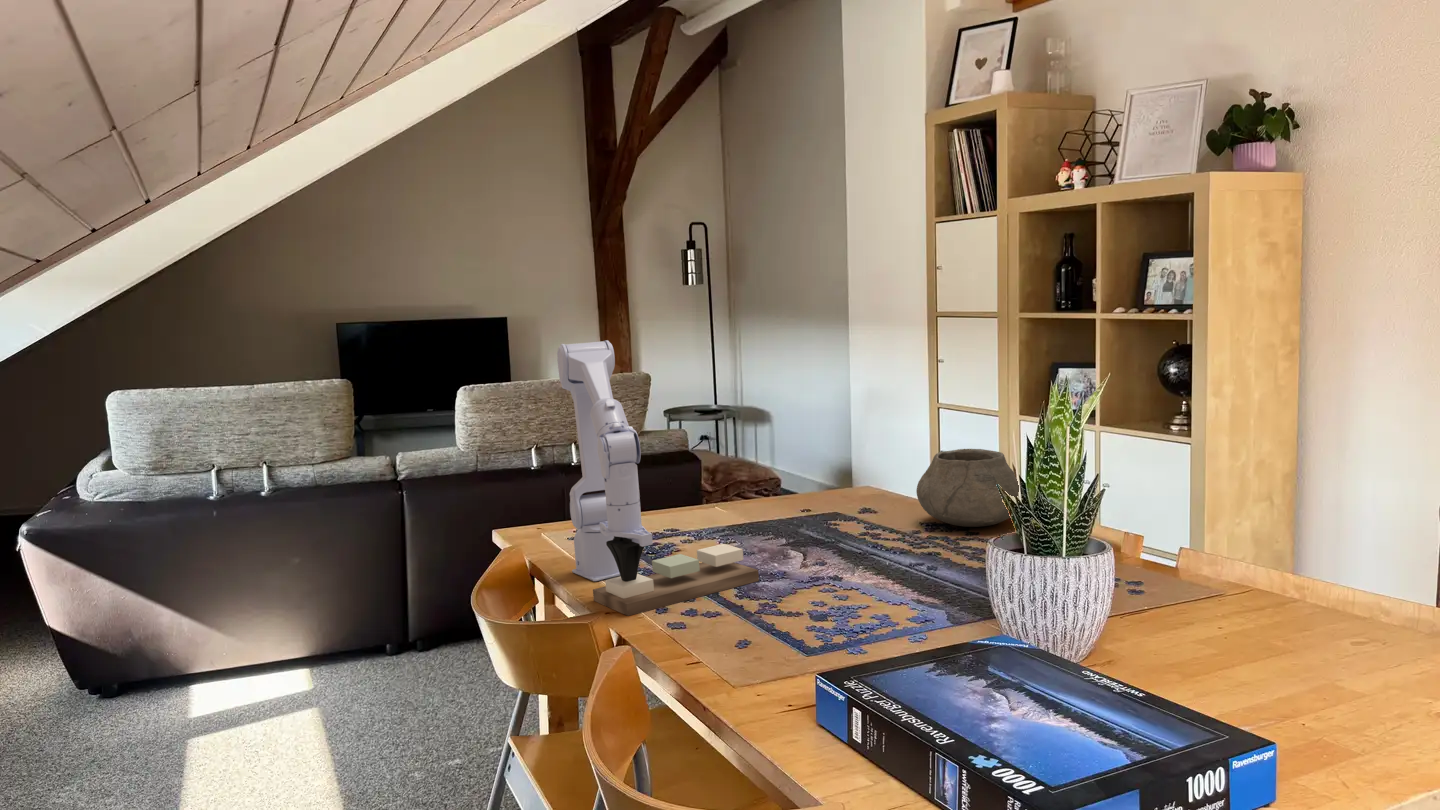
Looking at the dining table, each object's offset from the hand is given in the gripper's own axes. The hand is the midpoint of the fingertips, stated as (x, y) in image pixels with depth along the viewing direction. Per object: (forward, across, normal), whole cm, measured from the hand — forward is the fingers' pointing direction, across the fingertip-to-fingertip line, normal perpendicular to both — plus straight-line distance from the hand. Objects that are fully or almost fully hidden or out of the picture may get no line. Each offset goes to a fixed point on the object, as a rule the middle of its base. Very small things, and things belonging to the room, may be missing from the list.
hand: (629, 580), depth 178 cm
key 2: (0, 0, +19) cm, 19 cm away
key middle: (0, 0, +9) cm, 10 cm away
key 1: (+2, 0, 0) cm, 2 cm away
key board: (+4, 0, +10) cm, 10 cm away
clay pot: (+4, +6, +78) cm, 79 cm away
